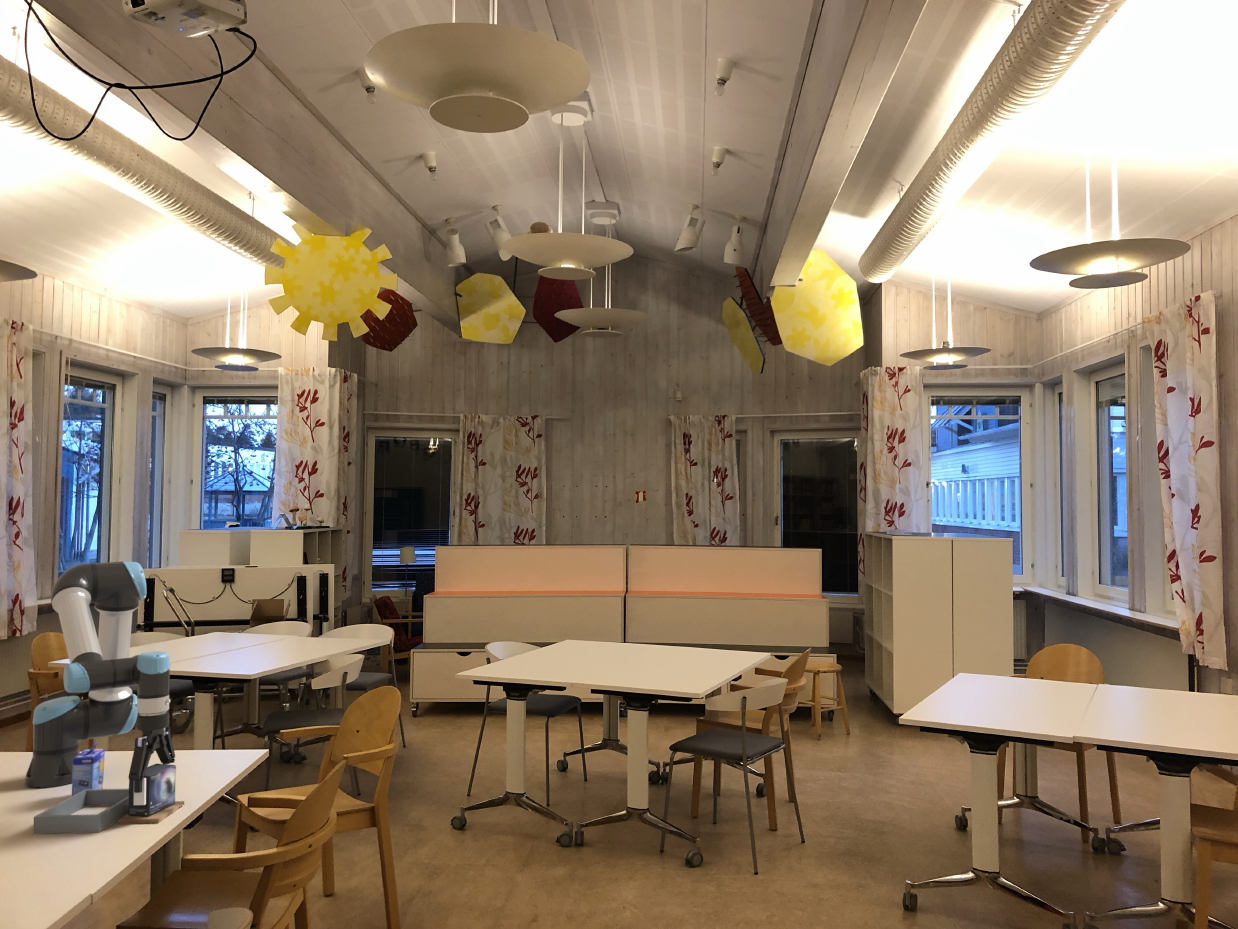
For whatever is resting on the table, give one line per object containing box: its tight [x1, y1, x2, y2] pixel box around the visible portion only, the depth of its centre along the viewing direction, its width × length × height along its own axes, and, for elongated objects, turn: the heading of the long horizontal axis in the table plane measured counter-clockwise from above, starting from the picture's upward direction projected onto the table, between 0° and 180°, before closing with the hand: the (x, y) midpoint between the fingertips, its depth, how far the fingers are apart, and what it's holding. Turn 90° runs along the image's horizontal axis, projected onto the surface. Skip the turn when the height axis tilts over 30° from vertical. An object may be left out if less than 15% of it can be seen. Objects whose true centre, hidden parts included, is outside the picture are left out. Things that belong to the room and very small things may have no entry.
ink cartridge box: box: [71, 742, 105, 797], centre depth 253 cm, size 10×6×14 cm, turn 13°
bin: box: [33, 788, 129, 834], centre depth 236 cm, size 22×16×4 cm
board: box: [118, 800, 185, 825], centre depth 238 cm, size 14×10×1 cm
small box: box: [128, 763, 177, 817], centre depth 239 cm, size 11×6×10 cm, turn 169°
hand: (152, 796), depth 238 cm, fingers open, 12 cm apart
